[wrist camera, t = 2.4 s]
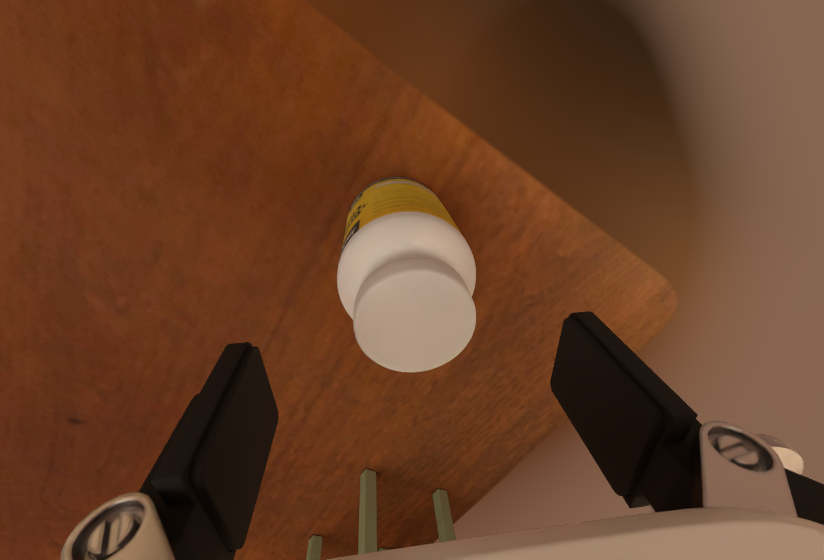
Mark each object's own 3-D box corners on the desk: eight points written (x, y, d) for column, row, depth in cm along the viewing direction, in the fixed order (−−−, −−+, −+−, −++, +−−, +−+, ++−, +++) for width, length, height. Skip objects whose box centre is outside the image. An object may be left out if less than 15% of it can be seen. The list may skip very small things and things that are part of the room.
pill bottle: (367, 157, 21) (363, 215, 11) (460, 197, 23) (533, 279, 12) (334, 250, 23) (305, 367, 13) (420, 279, 25) (453, 403, 15)
